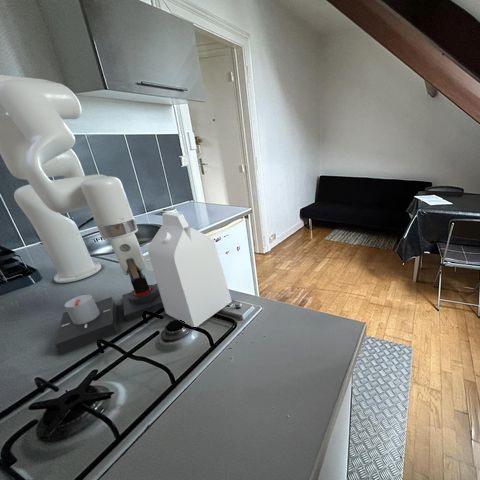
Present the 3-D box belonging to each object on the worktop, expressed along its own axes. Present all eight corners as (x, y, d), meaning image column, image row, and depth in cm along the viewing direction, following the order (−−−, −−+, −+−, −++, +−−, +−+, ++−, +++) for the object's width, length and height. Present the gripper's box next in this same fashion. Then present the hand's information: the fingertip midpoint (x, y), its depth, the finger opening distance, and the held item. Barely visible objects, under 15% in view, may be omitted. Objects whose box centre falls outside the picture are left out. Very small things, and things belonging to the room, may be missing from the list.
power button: (135, 295, 73) (133, 290, 72) (151, 290, 75) (149, 285, 74) (136, 302, 70) (134, 296, 69) (153, 296, 72) (151, 291, 71)
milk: (232, 301, 71) (210, 209, 61) (194, 328, 62) (162, 225, 52) (203, 290, 77) (180, 205, 67) (165, 313, 68) (131, 218, 57)
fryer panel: (68, 322, 67) (63, 312, 65) (116, 305, 72) (111, 296, 71) (61, 355, 56) (54, 344, 55) (117, 333, 62) (112, 322, 60)
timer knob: (74, 316, 64) (65, 298, 62) (100, 308, 66) (92, 290, 64) (72, 327, 60) (62, 309, 58) (99, 318, 62) (90, 300, 60)
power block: (124, 299, 75) (120, 289, 73) (163, 286, 80) (159, 276, 79) (126, 321, 66) (121, 309, 64) (170, 304, 71) (166, 293, 70)
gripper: (138, 231, 61) (162, 297, 68) (134, 218, 72) (154, 275, 79) (98, 240, 57) (127, 309, 64) (100, 225, 68) (125, 285, 75)
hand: (142, 290), depth 71 cm, fingers closed
